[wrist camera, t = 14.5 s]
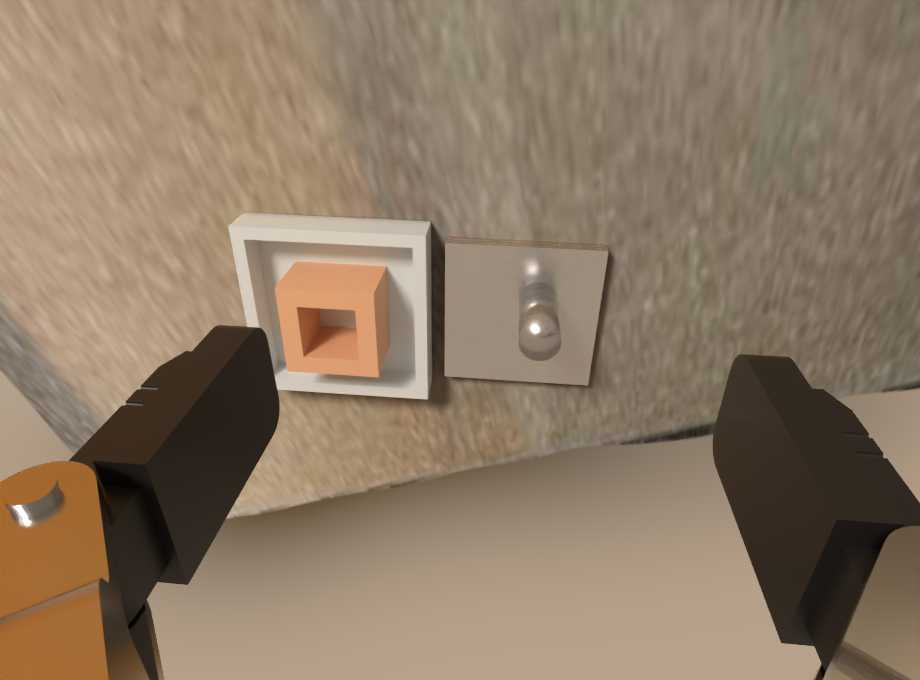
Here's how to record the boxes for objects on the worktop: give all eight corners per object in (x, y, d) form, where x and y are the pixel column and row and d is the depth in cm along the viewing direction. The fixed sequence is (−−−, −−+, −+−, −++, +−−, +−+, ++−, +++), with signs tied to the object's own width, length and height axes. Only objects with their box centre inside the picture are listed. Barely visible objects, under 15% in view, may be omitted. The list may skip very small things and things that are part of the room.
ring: (386, 266, 39) (373, 293, 36) (390, 345, 42) (378, 377, 39) (295, 261, 40) (274, 288, 36) (306, 339, 43) (287, 371, 39)
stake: (606, 244, 38) (621, 291, 32) (586, 377, 43) (596, 436, 37) (446, 237, 38) (433, 281, 33) (446, 368, 44) (434, 425, 38)
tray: (431, 221, 38) (425, 235, 36) (432, 379, 44) (427, 399, 42) (244, 212, 39) (228, 226, 37) (271, 368, 45) (259, 388, 43)
